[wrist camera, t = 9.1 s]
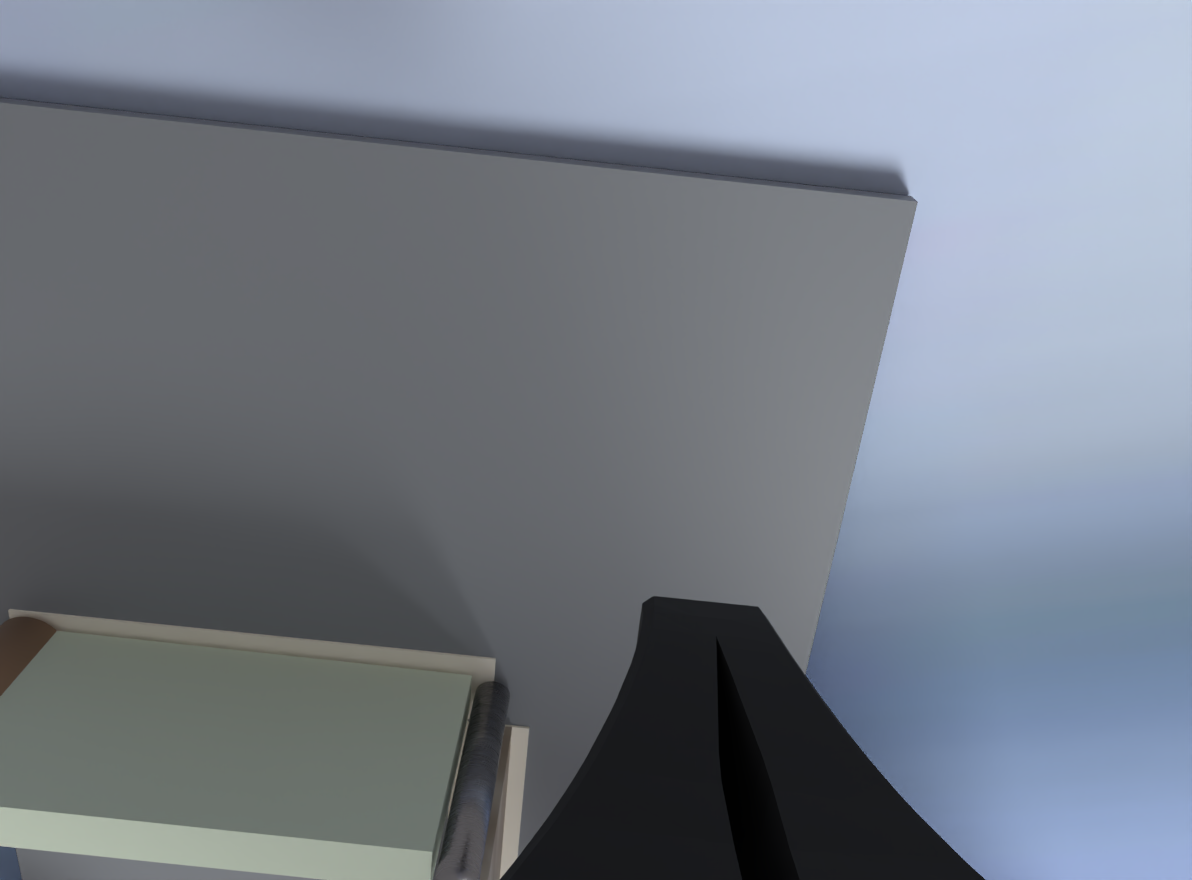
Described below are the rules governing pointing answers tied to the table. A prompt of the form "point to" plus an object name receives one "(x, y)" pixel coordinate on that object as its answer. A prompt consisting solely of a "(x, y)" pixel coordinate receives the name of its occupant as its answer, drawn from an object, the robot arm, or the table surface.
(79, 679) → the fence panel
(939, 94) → the table surface
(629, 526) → the board
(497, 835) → the fence fixed section
